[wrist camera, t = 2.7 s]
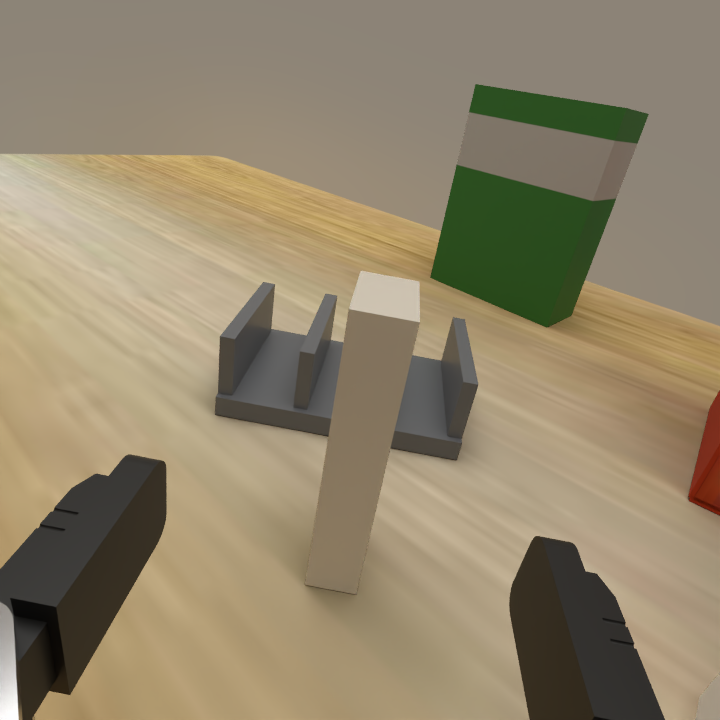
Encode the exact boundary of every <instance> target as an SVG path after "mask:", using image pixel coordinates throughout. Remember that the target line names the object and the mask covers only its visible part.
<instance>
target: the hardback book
mask: <svg viewBox="0 0 720 720" xmlns="http://www.w3.org/2000/svg"><path fill="white" fill-rule="evenodd" d="M647 117H648V114H646V113H642V112H639V111H635V110H631V109H628V108H622V107H616V106H609V105H603V104H597V103H590V102H584V101H578V100H571V99H565V98H559V97H553V96H546V95H540V94H533V93H527V92H521V91H515V90H508V89H502V88H496V87H490V86H483V85H477V84H476V85H475V89H474V94H473V98H472V102H471V106H470V111H469V115H468V119H467V123H466V128H465V132H464V136H463V141H462V145H461V149H460V154H459V158H458V162H457V166H456V171H455V175H454V179H453V183H452V188H451V192H450V196H449V200H448V205H447V209H446V213H445V217H444V222H443V226H442V230H441V234H440V239H439V243H438V247H437V252H436V256H435V260H434V264H433V269H432V273H431V277H430V278H432V279H435V280H437V281H439V282H442V283H444V284H446V285H449V286H451V287H453V288H456V289H458V290H460V291H463V292H465V293H467V294H470V295H472V296H474V297H477V298H479V299H481V300H484V301H486V302H488V303H491V304H493V305H495V306H498V307H500V308H502V309H505V310H507V311H509V312H512V313H514V314H516V315H519V316H521V317H524V318H526V319H528V320H531V321H533V322H535V323H538V324H540V325H542V326H545V327H549V326H551V325H553V324H555V323H557V322H559V321H561V320H563V319H565V318H567V317H569V316H571V315H572V312H573V310H574V307H575V305H576V302H577V299H578V297H579V294H580V291H581V289H582V286H583V284H584V281H585V278H586V276H587V273H588V270H589V268H590V265H591V263H592V260H593V257H594V255H595V252H596V250H597V247H598V245H599V242H600V239H601V237H602V234H603V232H604V229H605V226H606V224H607V221H608V218H609V216H610V213H611V211H612V208H613V206H614V203H615V200H616V198H617V195H618V193H619V190H620V187H621V185H622V182H623V180H624V177H625V174H626V172H627V169H628V166H629V164H630V161H631V159H632V156H633V154H634V151H635V148H636V146H637V143H638V140H639V138H640V135H641V133H642V130H643V128H644V125H645V122H646V119H647Z"/></svg>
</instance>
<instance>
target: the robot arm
mask: <svg viewBox="0 0 720 720" xmlns="http://www.w3.org/2000/svg"><path fill="white" fill-rule="evenodd" d="M165 521H166V464H165V462H164V461H161V460H156V459H151V458H146V457H140V456H135V455H126V456H125V457H124V458H123V459H122V460H121V461H120V463H119V464H118V465H117V466H116V468H115V469H114V470H113V471H112V473H111V474H110V475H109V476H106V475H100V474H94V475H93V476H91V477H89V478H88V479H86V480H85V481H83V482H81V483H80V484H78V485H76V486H75V487H73V488H71V489H70V491H69V492H68V493H67V494H66V495H65V496H64V497H63V499H62V500H61V501H60V502H59V503H58V504H57V505H56V507H55V508H54V511H53V512H50V513H49V514H48V516H47V517H46V518H45V519H44V520H43V521H42V522H41V524H40V527H39V528H36V529H35V530H34V531H33V533H32V534H31V535H30V536H29V537H28V538H27V539H26V541H25V542H24V543H23V544H22V545H21V546H20V547H19V549H18V550H17V551H16V552H15V553H14V554H13V555H12V556H11V558H10V559H9V560H8V561H7V562H6V563H5V564H4V566H3V567H2V568H1V569H0V720H35V717H34V714H35V713H36V711H37V709H38V708H39V706H40V705H41V703H42V701H43V700H44V698H45V697H46V695H47V693H48V692H49V691H53V692H58V693H63V694H68V695H70V694H71V692H72V691H73V689H74V687H75V685H76V684H77V682H78V680H79V679H80V677H81V675H82V673H83V672H84V670H85V668H86V666H87V665H88V663H89V661H90V659H91V658H92V656H93V654H94V653H95V651H96V649H97V647H98V646H99V644H100V642H101V640H102V639H103V637H104V635H105V634H106V632H107V630H108V628H109V627H110V625H111V623H112V621H113V620H114V618H115V616H116V614H117V613H118V611H119V609H120V608H121V606H122V604H123V602H124V601H125V599H126V597H127V595H128V594H129V592H130V590H131V589H132V587H133V585H134V583H135V582H136V580H137V578H138V576H139V575H140V573H141V571H142V569H143V568H144V566H145V564H146V563H147V561H148V559H149V557H150V556H151V554H152V552H153V550H154V549H155V547H156V545H157V543H158V542H159V539H160V537H161V535H162V532H163V529H164V525H165ZM509 606H510V617H511V622H512V627H513V633H514V638H515V643H516V649H517V654H518V659H519V665H520V670H521V675H522V681H523V686H524V692H525V697H526V702H527V708H528V713H529V718H530V720H665V719H664V716H663V714H662V711H661V709H660V706H659V704H658V701H657V699H656V696H655V694H654V691H653V689H652V686H651V684H650V682H649V679H648V677H647V674H646V672H645V669H644V667H643V664H642V662H641V659H640V657H639V654H638V652H637V649H634V642H633V640H632V637H631V635H630V632H629V630H628V627H625V623H626V622H625V620H624V617H623V615H622V612H621V610H620V607H619V605H618V602H617V600H616V597H615V596H614V595H613V594H612V592H611V591H610V590H609V589H608V587H607V586H606V585H605V583H604V582H603V581H602V580H601V578H600V577H599V576H598V575H597V574H596V573H590V572H585V569H584V566H583V563H582V561H581V558H580V555H579V552H578V550H577V548H576V546H575V545H574V544H573V543H571V542H566V541H561V540H556V539H550V538H545V537H540V536H536V537H534V538H533V540H532V542H531V544H530V546H529V548H528V550H527V552H526V555H525V557H524V559H523V561H522V564H521V566H520V568H519V570H518V572H517V575H516V577H515V579H514V581H513V584H512V587H511V592H510V603H509Z"/></svg>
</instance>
